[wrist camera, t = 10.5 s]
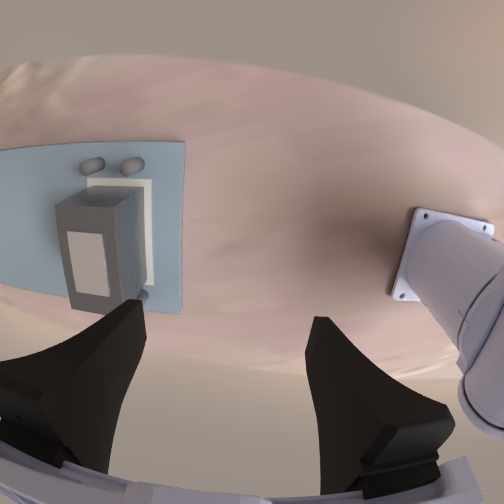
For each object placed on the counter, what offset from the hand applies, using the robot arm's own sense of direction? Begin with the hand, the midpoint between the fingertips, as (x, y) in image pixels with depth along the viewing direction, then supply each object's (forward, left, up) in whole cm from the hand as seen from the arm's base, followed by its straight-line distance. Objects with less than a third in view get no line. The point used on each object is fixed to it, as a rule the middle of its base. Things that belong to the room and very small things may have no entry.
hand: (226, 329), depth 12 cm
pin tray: (+14, 0, -10) cm, 17 cm away
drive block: (+9, 0, -9) cm, 13 cm away
